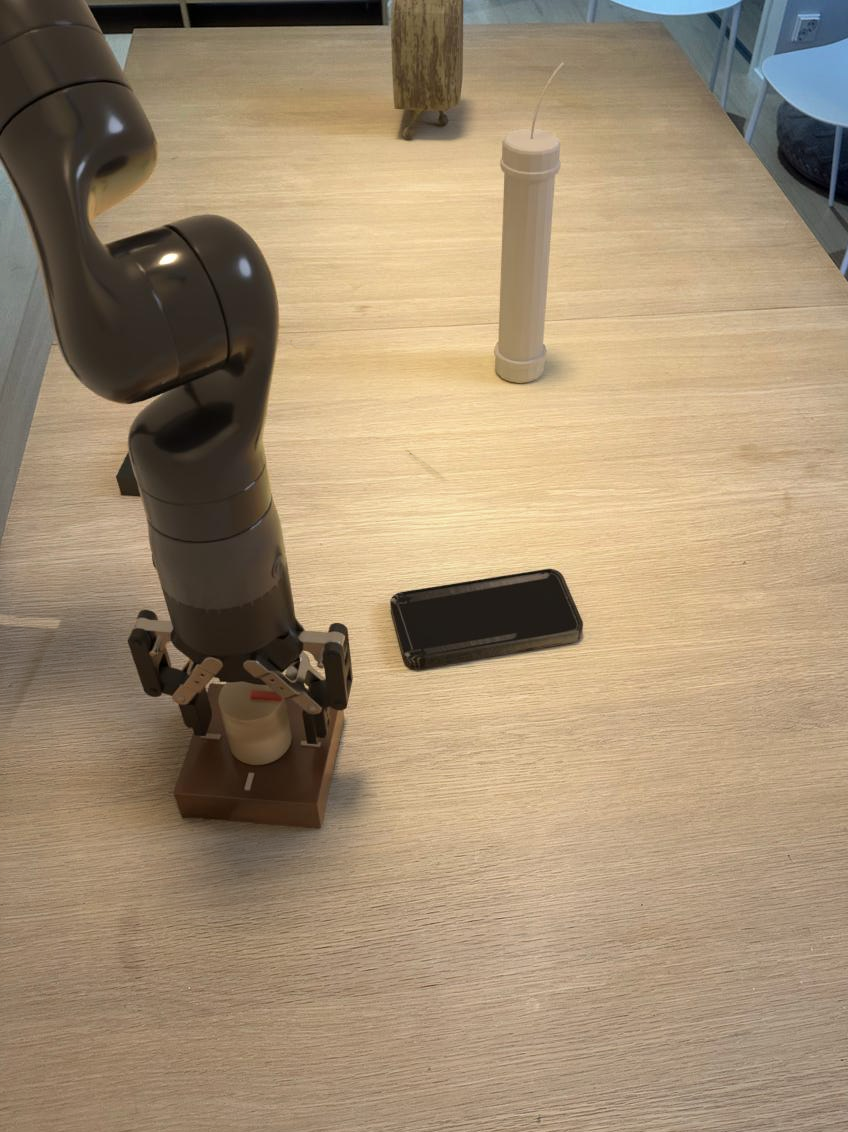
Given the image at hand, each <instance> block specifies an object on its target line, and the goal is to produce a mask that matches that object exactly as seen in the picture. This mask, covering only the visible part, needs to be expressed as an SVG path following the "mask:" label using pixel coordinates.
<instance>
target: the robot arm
mask: <svg viewBox="0 0 848 1132" xmlns="http://www.w3.org/2000/svg"><path fill="white" fill-rule="evenodd" d="M158 162H159V144H158V141H157V137H156V135H155V132H154V130H153V127H152V125H151V122H150V121H149V118H148V116H147V115H146V112H145V111H144V108H143V107H142V105H141V103H140V101H139V99H138V98H137V96H136V94H135V91H134V89H133V88H132V86H131V84H130V82H129V80H128V79H127V77H126V75H125V73H124V71H123V69H122V67H121V66H120V63H119V61H118V59H117V57H116V56H115V53H114V52H113V50H112V48H111V47H110V45H109V42H108V41H107V39H106V37H105V35H104V33H103V31H102V29H101V27H100V25H99V23H98V21H97V19H96V18H95V17H94V14H93V12H92V10H91V8H90V7H89V5H88V3H87V1H86V0H0V165H1V166H2V169H3V170H4V172H5V174H6V176H7V178H8V181H9V182H10V185H11V186H12V189H13V193H14V194H15V196H16V198H17V202H18V204H19V207H20V209H21V212H22V215H23V218H24V222H25V223H26V227H27V231H28V233H29V236H30V240H31V243H32V246H33V249H34V253H35V256H36V261H37V264H38V269H39V271H40V276H41V280H42V286H43V291H44V296H45V300H46V304H47V309H48V314H49V318H50V323H51V327H52V331H53V333H54V338H55V341H56V344H57V347H58V350H59V352H60V355H61V357H62V358H63V360H64V363H65V364H66V366H67V367H68V369H69V370H70V372H71V373H72V375H73V376H74V377H75V378H76V379H77V380H78V381H79V383H81V384H82V385H83V386H84V387H85V388H87V389H88V390H89V391H91V392H92V393H94V394H95V395H97V396H98V397H100V398H102V399H104V400H106V401H108V402H110V403H111V402H112V403H115V404H119V405H133V404H136V403H141V402H145V401H148V400H151V399H153V398H155V399H154V400H152V401H150V403H149V404H147V405H146V406H145V407H144V408H143V409H141V411H140V412H139V413H138V414H137V415H136V416H135V418H134V419H133V421H132V423H131V424H130V426H129V429H128V434H127V449H128V451H129V456H130V460H131V464H132V468H133V472H134V475H135V478H136V481H137V485H138V488H139V492H140V496H139V497H140V498H141V503H142V506H143V510H144V514H145V517H146V524H147V535H148V543H149V547H150V552H151V561H152V566H153V567H154V570H156V573H157V576H158V581H159V584H160V587H161V591H162V595H163V598H164V601H165V606H166V608H167V612H168V616H169V619H170V620H159V619H158V618H159V617H158V615H157V614H156V613H155V612H154V611H152V610H150V609H141V610H140V611H139V612H138V614H137V617H136V619H135V621H134V623H133V625H132V628H131V630H130V633H129V636H128V639H127V644H128V645H127V646H128V648H129V651H130V653H131V654H130V655H131V657H132V659H133V662H134V665H135V668H136V671H137V675H138V678H139V680H140V684H141V687H142V689H143V692H144V693H145V694H146V695H147V696H149V697H153V698H159V697H161V696H162V694H164V695H168V696H169V697H171V699H172V701H173V702H174V703H176V704H177V705H178V708H179V711H180V714H181V718H182V721H183V724H184V725H185V726H186V727H187V729H192V732H193V733H194V735H195V736H206V734H207V731H208V728H209V725H210V722H211V718H212V710H211V706H210V702H209V699H208V695H207V687H206V686H207V685H208V684H210V682H211V680H212V679H213V678H216V679H218V681H219V682H220V683H227V682H230V683H232V682H247V683H251V684H257V685H268V686H269V687H270V688H271V689H272V690H273V691H275V692H276V693H277V694H278V695H279V696H280V697H281V698H283V699H284V700H286V699H289V698H291V699H292V700H293V701H294V702H295V703H296V704H298V705H299V706H300V707H301V708H302V709H303V712H302V716H303V721H304V727H305V733H306V739H307V744H318V742H319V738H325V737H326V735H327V731H328V727H329V722H330V711H329V707H331V708H333V709H335V710H344V711H345V710H346V709H347V707H348V704H349V699H350V694H351V689H352V685H353V682H354V681H353V680H354V675H353V667H352V666H353V665H352V657H351V647H350V639H349V629H348V627H347V626H346V625H345V624H343V623H341V622H334V623H333V622H332V623H331V624H330V625H329V627H328V631H313V630H305V627H304V626H303V625H302V624H301V623H300V622H299V620H298V619H297V617H296V613H295V612H296V610H295V603H294V597H293V596H294V595H293V590H292V584H291V578H290V572H289V566H288V559H287V554H286V553H287V552H286V547H285V540H284V534H283V528H282V527H283V526H282V523H281V518H280V516H279V512H278V509H277V507H276V504H275V502H274V496H273V493H272V487H271V482H270V481H271V480H270V474H269V468H268V462H267V456H266V451H265V445H264V433H265V425H266V420H267V415H268V409H269V401H270V400H269V399H270V394H271V387H272V381H273V377H274V376H273V375H274V369H275V363H276V356H277V350H278V343H279V333H280V332H279V331H280V305H279V297H278V292H277V287H276V282H275V279H274V275H273V272H272V269H271V267H270V265H269V263H268V261H267V259H266V257H265V255H264V253H263V251H262V250H261V249H262V248H260V246H259V245H258V244H257V242H256V241H255V240H254V238H253V237H252V236H251V235H250V233H248V232H247V231H246V230H245V229H244V228H243V227H242V226H240V225H239V224H238V223H237V222H234V221H233V220H231V219H230V218H227V217H224V216H222V215H219V214H212V213H211V214H210V213H207V214H198V215H193V216H189V217H185V218H182V219H179V220H176V221H173V222H169V223H166V224H163V225H161V226H158V227H155V228H152V229H151V228H150V229H148V230H146V231H142V232H139V233H136V234H133V235H129V236H127V237H123V238H119V239H116V240H113V241H110V242H106V243H103V242H102V241H101V239H100V238H99V236H98V234H97V233H96V230H95V228H94V225H93V222H94V221H95V220H96V219H97V218H98V217H100V216H101V215H103V214H104V213H105V212H106V211H108V210H110V209H112V208H114V207H115V206H116V205H119V204H120V203H121V202H123V201H125V200H127V199H128V198H129V197H130V196H131V195H133V194H134V193H135V192H137V191H138V190H140V189H141V188H142V187H143V186H144V185H145V184H146V182H148V180H149V179H150V178H151V177H152V175H153V174H154V172H155V170H156V167H157V165H158ZM156 397H157V398H156ZM169 642H171V644H172V645H173V647H174V648H175V649H176V650H178V651H179V652H180V653H182V654H183V656H185V657H186V658H188V660H187V662H186V663H185V664H184V665H183V667H182V668H181V669H179V668H175V667H173V666H172V665H173V664H172V662H171V658H170V655H169V651H168V648H167V645H168V643H169ZM307 652H308V653H309V654H311V655H312V657H313V659H314V660H315V661H316V662H317V664H316V667H317V668H319V669H321V670H322V669H323V670H324V676H323V675H322V674H321V673H320V672H319V671H318V670H317V669H316V668H315V667H314V666H312V665H311V661H310V658H309V655H308V654H307ZM284 672H285V674H284ZM306 686H307V687H306Z"/></svg>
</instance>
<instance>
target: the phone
mask: <svg viewBox="0 0 848 1132" xmlns="http://www.w3.org/2000/svg"><path fill="white" fill-rule="evenodd" d="M389 605H390V606H389V607H390V615H391V620H392V623H393V627H394V631H395V634H396V639H397V642H398V645H399V650H400V652H401V656H402V661H403V663H404V664H405V666H407V667H408V668H411V669H415V670H418V669H419V670H420V669H425V668H431V667H437V666H444V665H450V664H454V663H463V662H467V661H473V660H477V659H478V660H479V659H484V658H490V657H495V656H496V657H497V656H501V655H502V656H503V655H508V654H513V653H519V652H526V651H530V650H538V649H543V648H549V647H554V646H561V645H567V644H572V643H575V642H577V641H579V640H580V639H581V638H582V635H583V629H584V621H583V619H582V617H581V614H580V612H579V609H578V607H577V605H576V603H575V600H574V598H573V595H572V593H571V591H570V588H569V585H568V584H567V581H566V579H565V577H564V575H563V574H562V573H561V572H560V571H559V570H557V569H554V568H544V569H537V570H533V571H532V570H531V571H525V572H520V573H513V574H505V575H501V576H499V575H498V576H494V577H488V578H487V577H486V578H482V579H475V580H467V581H462V582H455V583H450V584H449V583H448V584H442V585H437V586H431V587H423V588H417V589H412V590H404V591H401V592H399V591H398V592H397V593H395V594H393V595H392V596H391V597H390V600H389Z"/></svg>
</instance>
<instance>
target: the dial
mask: <svg viewBox="0 0 848 1132" xmlns="http://www.w3.org/2000/svg"><path fill="white" fill-rule="evenodd" d="M224 684H225V685H224V686H223V688H222V689H221V691H220V694H219V698H218V702H219V707H220V711H221V715H222V719H223V723H224V727H225V730H226V734H227V738H228V742H229V746H230V750H231V752H232V754H233V755H234V756H235V757H236V758H237V759H238V760H240V761H242V762H244V763H246V764H250V765H263V764H268V763H271V762H273V761H275V760H277V759H279V758H280V757H281V756H283V755H284V754H285V753H286V751H287V750H288V748H289V746H290V744H291V740H292V735H291V729H290V724H289V718H288V713H287V707H286V702H285V700H284V699H283V698H281V697H280V696H279V695H278V694H277V693H276V692H275V691H273V690H272V689H271V688H270V687H269V686H268V685H257V684H251V683H247V682H232V683H230V682H225V683H224Z"/></svg>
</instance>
